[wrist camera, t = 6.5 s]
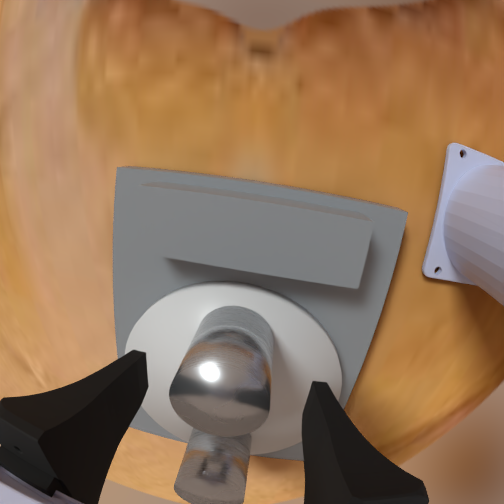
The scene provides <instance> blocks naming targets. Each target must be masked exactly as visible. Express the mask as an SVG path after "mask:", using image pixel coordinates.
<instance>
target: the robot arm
mask: <svg viewBox="0 0 504 504" xmlns="http://www.w3.org/2000/svg"><path fill="white" fill-rule="evenodd" d="M461 150H462V151H463V157H462V158H461V156H460V151H461ZM436 267H439V270H438V271H437V272H436V273H434V270H435V268H436ZM422 272H423V274H424V275H425V276H427V277H430V278H436V279H441V280H447V281H453V282H459V283H465V284H471V285H476V286H479V287H480V288H481V289H483V290H484V291H485V292H487V293H488V294H489V295H490V296H492V297H493V298H494V299H496V300H497V301H498V302H499V303H501V304H502V305H503V306H504V162H502V161H499V160H497V159H495V158H493V157H490V156H488V155H486V154H483V153H481V152H478V151H476V150H474V149H471V148H469V147H466V146H463V145H461V144H458V143H451V144H449V145H448V147H447V152H446V159H445V166H444V172H443V178H442V184H441V189H440V194H439V199H438V204H437V209H436V214H435V218H434V223H433V227H432V231H431V235H430V239H429V243H428V247H427V251H426V255H425V258H424V262H423V266H422ZM148 387H149V385H148V373H147V360H146V352H142V351H138V350H132V351H130V352H128V353H127V354H125V355H124V356H122V357H121V358H119V359H117V360H116V361H114V362H113V363H111V364H109V365H108V366H106V367H104V368H103V369H101V370H99V371H97V372H95V373H93V374H91V375H89V376H88V377H86V378H84V379H82V380H79V381H77V382H75V383H72V384H70V385H67V386H65V387H62V388H58V389H55V390H52V391H48V392H44V393H40V394H35V395H29V396H21V397H7V398H3V399H2V400H1V401H0V444H1V447H0V504H98V501H99V498H100V494H101V491H102V488H103V485H104V482H105V479H106V476H107V473H108V470H109V467H110V465H111V462H112V460H113V457H114V455H115V452H116V450H117V447H118V445H119V443H120V441H121V439H122V438H123V436H124V434H125V432H126V431H127V429H128V427H129V426H130V424H131V422H132V420H133V419H134V417H135V415H136V414H137V412H138V410H139V408H140V406H141V405H142V402H143V400H144V398H145V395H146V392H147V390H148ZM301 434H302V446H303V457H304V469H305V496H304V504H428V503H429V498H428V495H427V491H426V488H425V486H424V483H423V481H422V480H420V479H418V478H416V477H414V476H413V475H411V474H409V473H407V472H405V471H404V470H402V469H401V468H399V467H398V466H396V465H395V464H394V463H392V462H391V461H390V460H388V459H387V458H386V457H385V456H383V455H382V454H381V453H380V452H379V451H377V450H376V449H375V448H374V447H373V446H372V445H371V444H370V443H369V442H368V441H367V440H366V439H365V438H364V436H363V435H362V434H361V433H360V432H359V431H358V429H357V428H356V427H355V425H354V424H353V423H352V421H351V420H350V419H349V417H348V416H347V414H346V413H345V411H344V410H343V408H342V407H341V405H340V404H339V402H338V400H337V399H336V397H335V395H334V394H333V392H332V390H331V388H330V387H329V385H328V383H327V382H320V381H312V384H311V388H310V391H309V394H308V397H307V400H306V404H305V407H304V410H303V413H302V431H301Z"/></svg>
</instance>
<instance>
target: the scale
mask: <svg viewBox="0 0 504 504" xmlns="http://www.w3.org/2000/svg"><path fill="white" fill-rule="evenodd" d="M407 215H408V212H406V211H404V210H401V209H399V208H397V207H392V206H388V205H383V204H379V203H374V202H370V201H365V200H360V199H355V198H350V197H345V196H340V195H335V194H330V193H325V192H319V191H314V190H308V189H303V188H297V187H291V186H285V185H279V184H273V183H267V182H260V181H254V180H247V179H240V178H233V177H226V176H218V175H210V174H202V173H194V172H185V171H176V170H167V169H157V168H146V167H135V166H126V167H117V173H116V186H115V201H114V222H113V294H114V316H115V331H116V344H117V355H118V359H119V358H121V357H122V356H124V355H125V354H127V353H128V352H130V351H132V350H138V351H142V352H146V360H147V373H148V385H149V387H148V390H147V392H146V395H145V398H144V400H143V402H142V405H141V406H140V408H139V410H138V412H137V414H136V415H135V417H134V419H133V420H132V422H131V424H130V426H129V427H132V428H135V429H138V430H141V431H144V432H148V433H151V434H155V435H158V436H162V437H165V438H169V439H173V440H177V441H181V442H185V443H188V441H189V438H190V435H191V432H192V429H193V427H192V426H190V425H188V424H187V423H186V422H184V421H183V420H182V419H181V418H180V417H179V416H178V415H177V413H176V412H175V411H174V409H173V407H172V405H171V402H170V399H169V389H170V385H171V383H172V381H173V379H174V377H175V375H176V373H177V371H178V369H179V366H180V364H181V362H182V360H183V358H184V356H185V354H186V352H187V350H188V348H189V346H190V344H191V341H192V339H193V337H194V335H195V333H196V331H197V329H198V327H199V325H200V323H201V321H202V320H203V318H204V317H205V316H206V315H207V314H208V313H209V312H211V311H213V310H214V309H217V308H219V307H223V306H241V307H246V308H248V309H251V310H253V311H255V312H257V313H258V314H260V315H261V316H262V317H263V318H264V319H265V320H266V321H267V322H268V324H269V325H270V327H271V329H272V332H273V336H274V351H273V368H272V384H271V399H270V411H269V415H268V418H267V419H266V421H265V422H264V424H263V425H262V426H260V427H259V428H258V429H256V430H255V431H253V432H251V433H250V434H251V436H252V442H251V450H250V455H254V456H261V457H269V458H278V459H288V460H301V461H304V457H303V446H302V434H301V431H302V413H303V410H304V407H305V404H306V400H307V397H308V394H309V391H310V388H311V384H312V381H320V382H327V383H328V385H329V387H330V388H331V390H332V392H333V394H334V395H335V397H336V399H337V400H338V402H339V404H340V405H341V407H342V408H343V410H344V407H345V405H346V403H347V401H348V398H349V396H350V394H351V391H352V389H353V387H354V384H355V382H356V379H357V377H358V374H359V372H360V369H361V367H362V364H363V362H364V359H365V357H366V354H367V351H368V349H369V346H370V343H371V340H372V338H373V335H374V332H375V329H376V326H377V323H378V320H379V317H380V314H381V311H382V308H383V305H384V302H385V298H386V295H387V292H388V289H389V285H390V282H391V278H392V275H393V271H394V268H395V264H396V260H397V257H398V253H399V249H400V245H401V241H402V237H403V232H404V228H405V224H406V219H407Z"/></svg>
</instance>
